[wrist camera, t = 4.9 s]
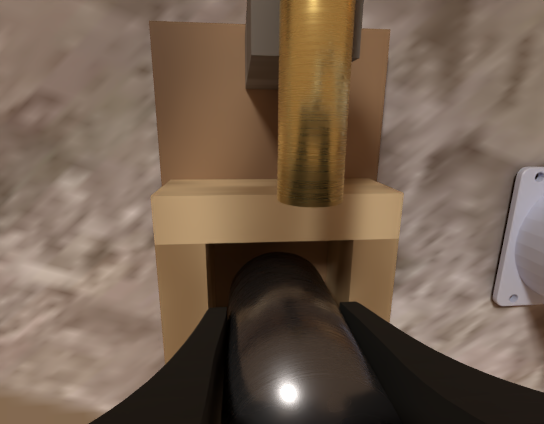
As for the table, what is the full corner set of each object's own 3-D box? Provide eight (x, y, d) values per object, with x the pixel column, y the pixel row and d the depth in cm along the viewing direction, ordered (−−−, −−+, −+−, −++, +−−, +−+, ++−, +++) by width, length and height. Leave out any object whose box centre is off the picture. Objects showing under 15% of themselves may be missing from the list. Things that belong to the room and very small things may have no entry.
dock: (380, 35, 15) (541, -64, 7) (354, 355, 20) (435, 517, 11) (155, 27, 14) (45, -97, 6) (180, 365, 19) (134, 550, 11)
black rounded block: (324, 334, 14) (399, 515, 8) (232, 343, 14) (225, 540, 7) (324, 248, 13) (410, 368, 7) (225, 255, 13) (210, 388, 6)
